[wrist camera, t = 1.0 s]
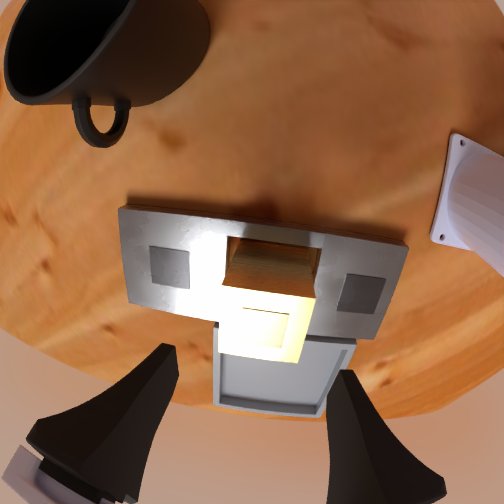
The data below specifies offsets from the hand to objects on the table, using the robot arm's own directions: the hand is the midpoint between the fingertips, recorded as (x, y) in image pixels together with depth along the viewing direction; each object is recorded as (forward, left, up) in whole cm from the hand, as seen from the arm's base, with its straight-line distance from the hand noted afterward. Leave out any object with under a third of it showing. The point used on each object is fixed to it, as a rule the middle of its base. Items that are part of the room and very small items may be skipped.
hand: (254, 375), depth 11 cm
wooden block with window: (0, 0, -9) cm, 9 cm away
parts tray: (-2, +10, -9) cm, 14 cm away
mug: (+10, -15, -9) cm, 20 cm away
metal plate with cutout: (+1, 0, -9) cm, 9 cm away
